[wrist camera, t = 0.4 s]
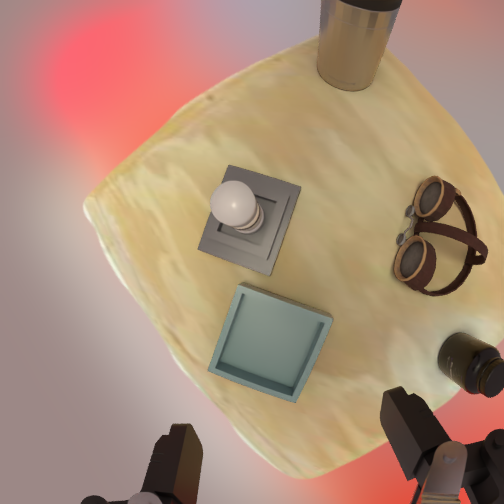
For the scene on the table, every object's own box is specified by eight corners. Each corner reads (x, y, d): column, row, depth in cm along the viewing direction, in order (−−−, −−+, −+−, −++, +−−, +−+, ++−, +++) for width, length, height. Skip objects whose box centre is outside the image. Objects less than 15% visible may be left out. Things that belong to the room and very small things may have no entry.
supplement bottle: (429, 361, 33) (469, 392, 21) (455, 323, 32) (503, 342, 20) (452, 381, 32) (491, 412, 20) (477, 345, 31) (521, 367, 19)
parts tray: (243, 282, 37) (238, 284, 33) (329, 313, 35) (333, 319, 32) (214, 361, 37) (207, 370, 34) (295, 391, 35) (295, 403, 32)
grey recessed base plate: (230, 166, 37) (226, 160, 35) (300, 188, 36) (301, 183, 34) (199, 249, 38) (193, 248, 35) (270, 275, 36) (268, 276, 34)
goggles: (413, 173, 34) (460, 160, 24) (467, 215, 35) (512, 212, 25) (380, 276, 34) (426, 289, 24) (440, 305, 35) (484, 321, 25)
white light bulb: (238, 197, 36) (219, 175, 26) (269, 207, 36) (260, 188, 26) (227, 228, 36) (203, 216, 26) (258, 238, 36) (245, 230, 26)
